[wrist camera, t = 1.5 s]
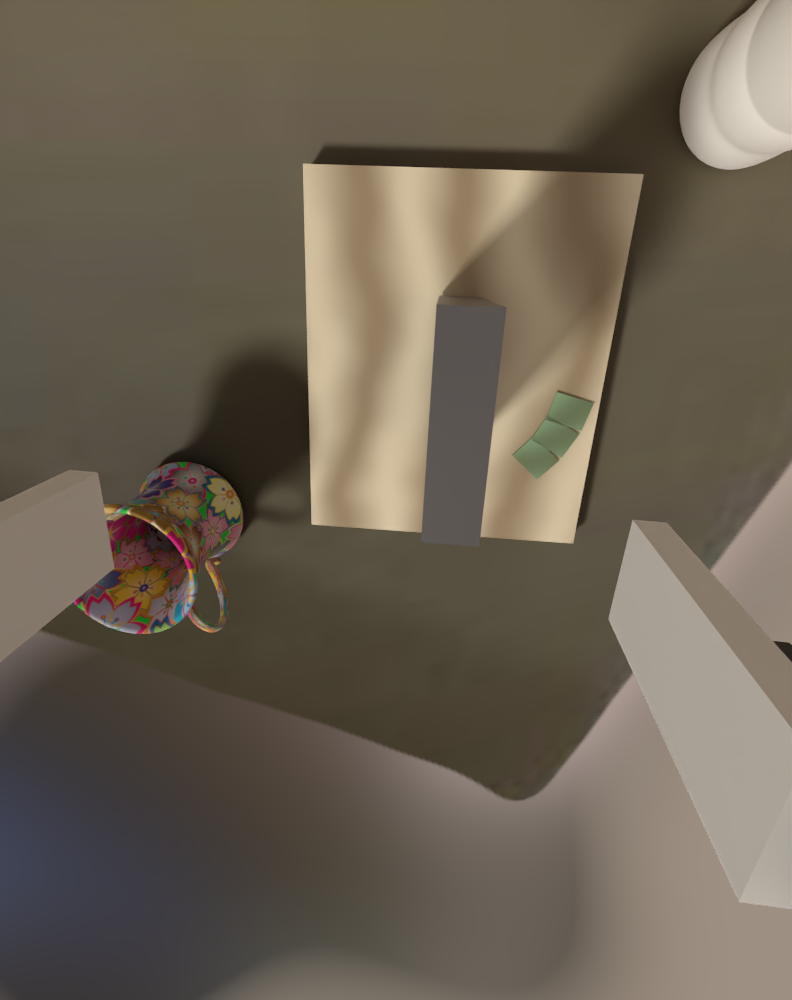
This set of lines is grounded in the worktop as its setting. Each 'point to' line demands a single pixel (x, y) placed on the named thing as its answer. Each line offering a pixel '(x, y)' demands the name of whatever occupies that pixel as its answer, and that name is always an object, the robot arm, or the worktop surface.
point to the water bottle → (742, 90)
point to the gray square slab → (461, 417)
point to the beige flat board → (411, 329)
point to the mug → (166, 550)
